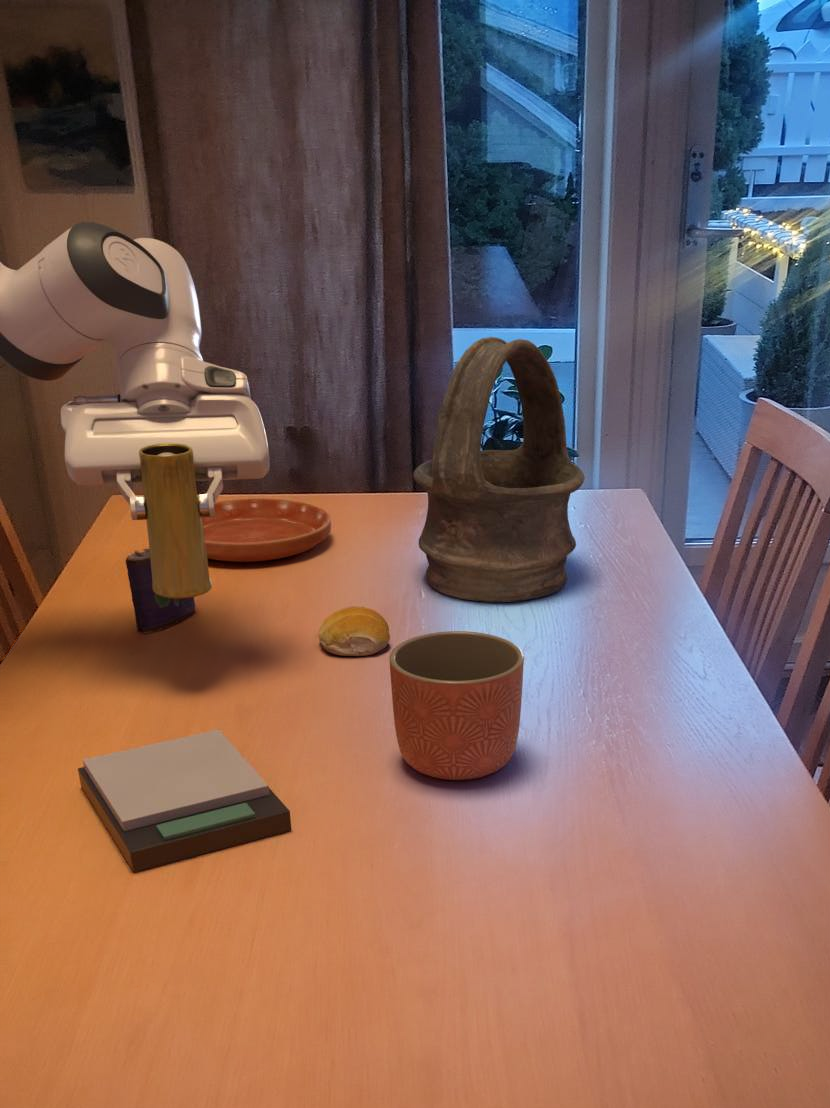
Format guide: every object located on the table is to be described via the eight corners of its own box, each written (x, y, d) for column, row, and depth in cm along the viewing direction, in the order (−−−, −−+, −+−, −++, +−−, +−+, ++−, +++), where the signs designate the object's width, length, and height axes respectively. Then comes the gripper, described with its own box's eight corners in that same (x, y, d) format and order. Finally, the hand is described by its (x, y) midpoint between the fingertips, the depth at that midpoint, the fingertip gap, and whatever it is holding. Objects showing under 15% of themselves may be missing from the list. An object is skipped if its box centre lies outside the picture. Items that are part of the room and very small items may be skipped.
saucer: (201, 517, 187) (199, 493, 185) (348, 524, 184) (347, 499, 182) (146, 565, 168) (143, 539, 166) (309, 573, 165) (307, 546, 163)
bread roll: (387, 628, 148) (386, 596, 146) (391, 656, 141) (390, 623, 138) (318, 630, 147) (316, 598, 145) (319, 659, 140) (316, 626, 138)
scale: (133, 872, 101) (128, 841, 100) (81, 787, 114) (75, 758, 112) (291, 830, 107) (289, 800, 105) (225, 753, 120) (222, 725, 118)
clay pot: (615, 585, 161) (631, 341, 146) (469, 621, 150) (469, 361, 135) (518, 542, 177) (522, 318, 161) (378, 571, 166) (368, 333, 150)
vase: (171, 603, 124) (152, 460, 117) (142, 588, 128) (122, 448, 121) (223, 590, 128) (208, 450, 120) (193, 575, 132) (177, 439, 124)
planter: (420, 802, 111) (418, 691, 106) (375, 746, 121) (370, 642, 115) (543, 776, 116) (546, 669, 110) (490, 724, 125) (490, 623, 120)
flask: (186, 607, 154) (175, 523, 148) (203, 612, 152) (193, 527, 147) (131, 630, 147) (117, 543, 142) (149, 635, 146) (136, 547, 140)
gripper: (53, 378, 122) (61, 504, 119) (261, 373, 125) (274, 495, 122) (64, 415, 128) (72, 536, 125) (262, 409, 131) (275, 526, 128)
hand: (173, 515), depth 123 cm, fingers closed on vase, 5 cm apart
